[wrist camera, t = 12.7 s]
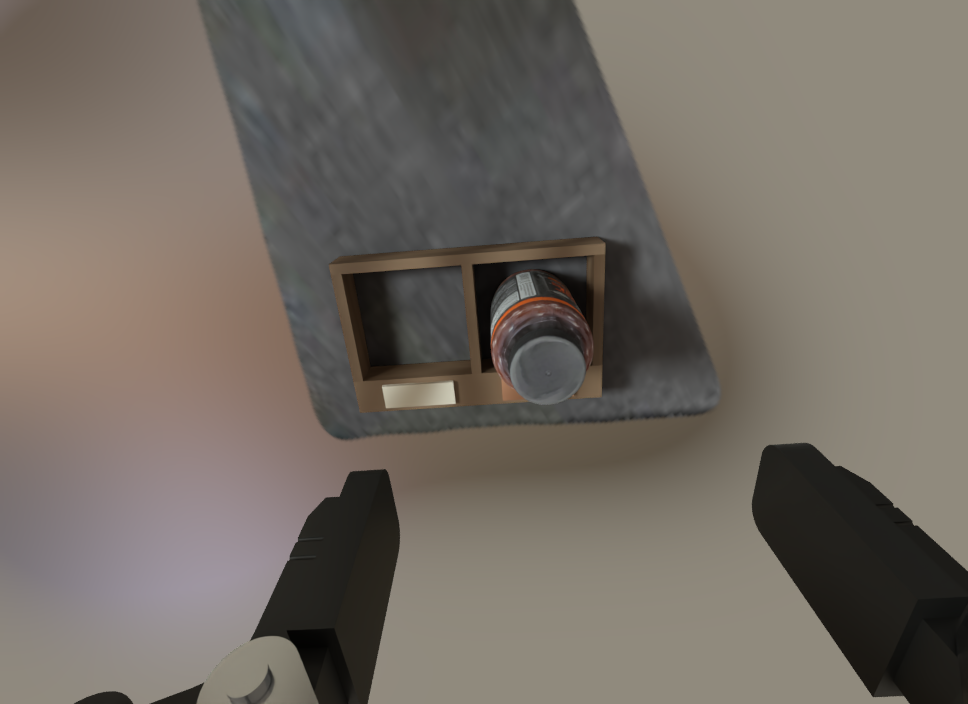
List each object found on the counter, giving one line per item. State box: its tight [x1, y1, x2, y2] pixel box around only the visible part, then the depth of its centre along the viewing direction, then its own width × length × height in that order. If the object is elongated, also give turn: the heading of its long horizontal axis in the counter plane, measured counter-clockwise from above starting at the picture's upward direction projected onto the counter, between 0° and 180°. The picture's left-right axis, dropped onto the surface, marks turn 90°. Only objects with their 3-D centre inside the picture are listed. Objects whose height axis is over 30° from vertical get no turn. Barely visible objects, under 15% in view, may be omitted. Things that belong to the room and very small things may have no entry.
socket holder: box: [329, 237, 605, 413], centre depth 34 cm, size 18×11×3 cm, turn 94°
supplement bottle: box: [491, 269, 594, 405], centre depth 29 cm, size 6×6×11 cm
